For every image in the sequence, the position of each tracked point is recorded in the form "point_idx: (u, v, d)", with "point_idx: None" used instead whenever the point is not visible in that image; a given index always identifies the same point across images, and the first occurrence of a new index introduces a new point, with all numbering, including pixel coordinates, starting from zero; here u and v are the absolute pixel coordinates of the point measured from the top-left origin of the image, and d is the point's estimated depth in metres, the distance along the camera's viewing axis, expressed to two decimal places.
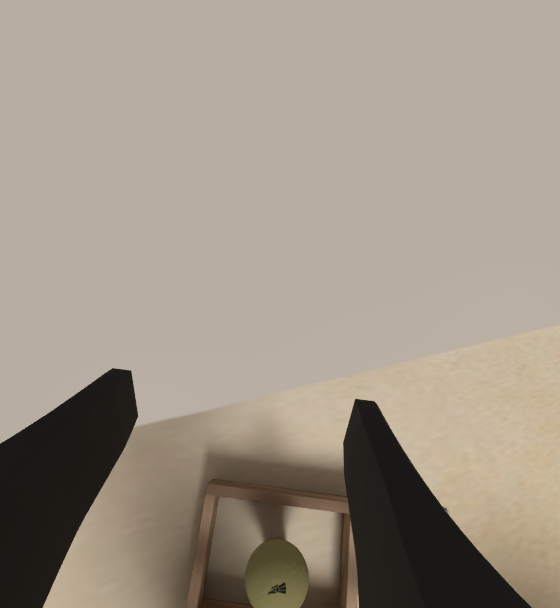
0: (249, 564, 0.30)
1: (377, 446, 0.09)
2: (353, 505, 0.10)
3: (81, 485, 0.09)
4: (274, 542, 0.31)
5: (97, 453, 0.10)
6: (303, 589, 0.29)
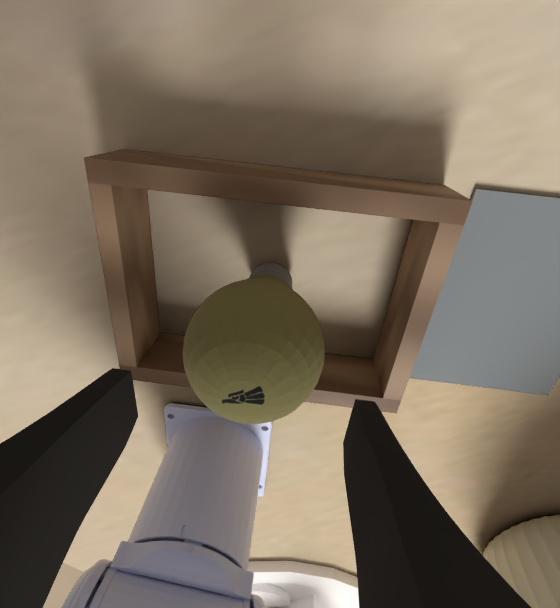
0: (186, 334, 0.13)
1: (377, 446, 0.09)
2: (353, 505, 0.10)
3: (81, 485, 0.09)
4: (243, 293, 0.12)
5: (97, 453, 0.10)
6: (309, 385, 0.12)
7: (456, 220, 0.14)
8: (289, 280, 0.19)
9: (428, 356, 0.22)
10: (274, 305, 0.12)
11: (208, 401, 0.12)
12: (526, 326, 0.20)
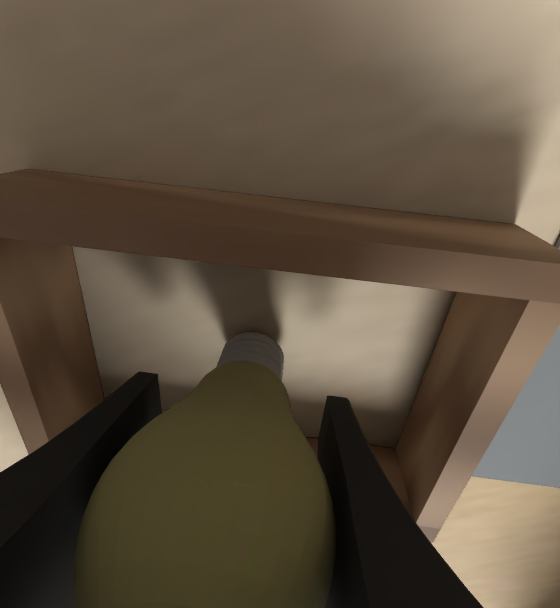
0: (81, 524, 0.07)
1: (343, 442, 0.09)
2: None
3: None
4: (180, 465, 0.06)
5: None
6: None
7: (558, 297, 0.08)
8: (279, 359, 0.13)
9: None
10: (239, 496, 0.06)
11: None
12: None
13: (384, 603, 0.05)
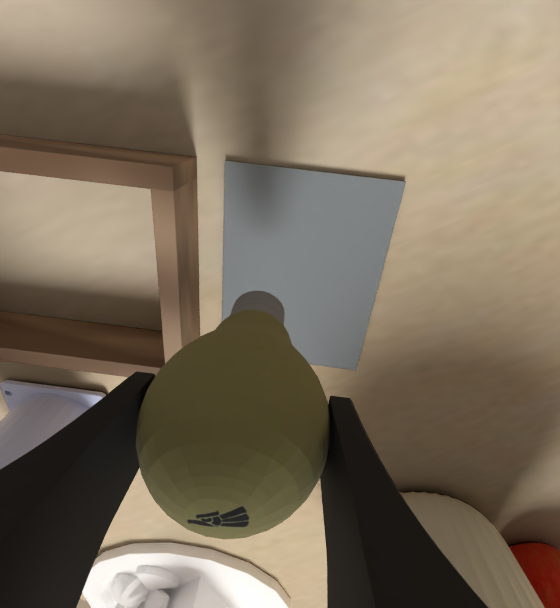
0: (141, 411, 0.09)
1: (346, 442, 0.09)
2: (325, 501, 0.10)
3: (109, 488, 0.09)
4: (221, 362, 0.09)
5: (124, 456, 0.10)
6: (310, 488, 0.09)
7: (164, 186, 0.15)
8: (281, 313, 0.15)
9: None
10: (266, 381, 0.08)
11: (169, 514, 0.09)
12: (314, 300, 0.21)
13: (390, 604, 0.05)
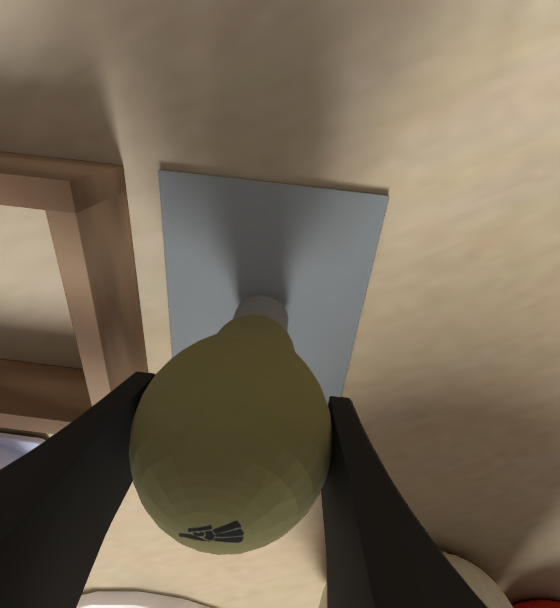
0: (135, 417, 0.09)
1: (346, 442, 0.09)
2: (325, 501, 0.10)
3: (109, 489, 0.09)
4: (218, 366, 0.08)
5: (124, 457, 0.10)
6: (310, 502, 0.09)
7: (63, 207, 0.11)
8: (285, 319, 0.15)
9: None
10: (264, 388, 0.08)
11: (160, 526, 0.08)
12: None
13: (389, 604, 0.05)
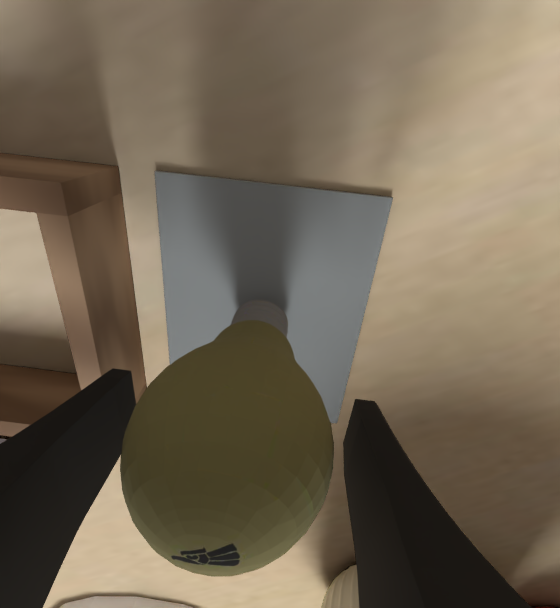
0: (126, 430, 0.09)
1: (377, 446, 0.09)
2: (353, 505, 0.10)
3: (81, 485, 0.09)
4: (213, 378, 0.08)
5: (97, 453, 0.10)
6: (310, 521, 0.08)
7: (55, 209, 0.11)
8: (285, 324, 0.14)
9: None
10: (261, 402, 0.08)
11: (152, 547, 0.08)
12: None
13: None
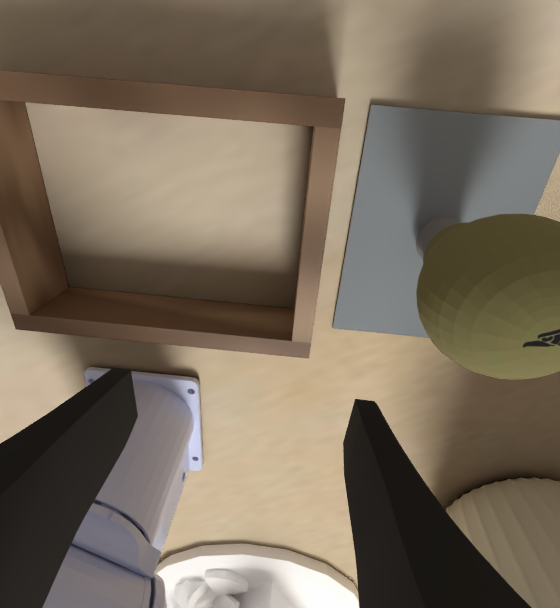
0: (447, 271, 0.11)
1: (377, 446, 0.09)
2: (352, 505, 0.10)
3: (81, 485, 0.09)
4: (530, 221, 0.10)
5: (97, 453, 0.10)
6: None
7: (332, 123, 0.13)
8: None
9: (349, 302, 0.21)
10: None
11: (494, 347, 0.10)
12: None
13: None
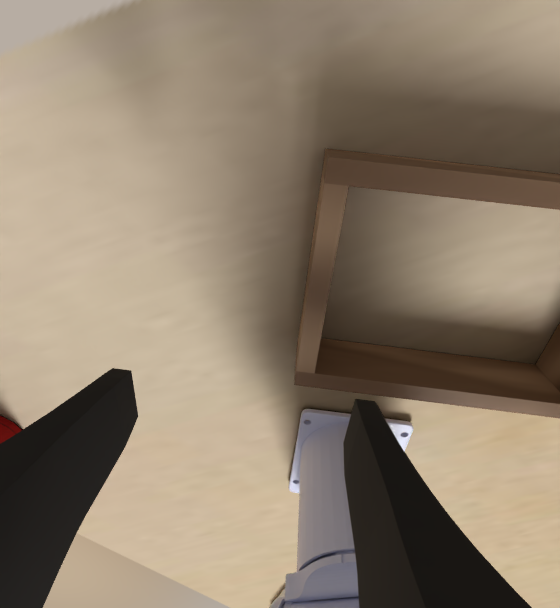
0: None
1: (377, 446, 0.09)
2: (353, 505, 0.10)
3: (81, 485, 0.09)
4: None
5: (97, 453, 0.10)
6: None
7: None
8: None
9: None
10: None
11: None
12: None
13: None
